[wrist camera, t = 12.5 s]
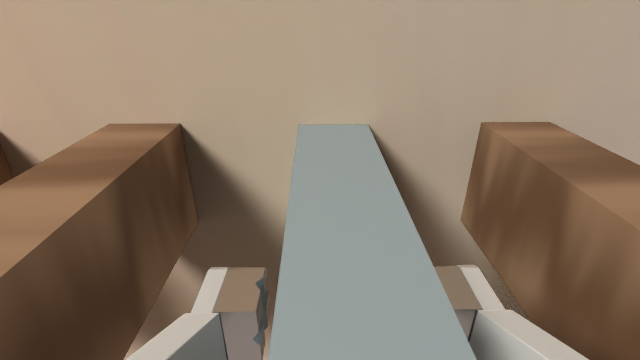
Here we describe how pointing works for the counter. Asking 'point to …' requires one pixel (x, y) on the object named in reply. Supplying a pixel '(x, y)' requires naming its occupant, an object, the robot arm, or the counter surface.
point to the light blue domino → (356, 262)
